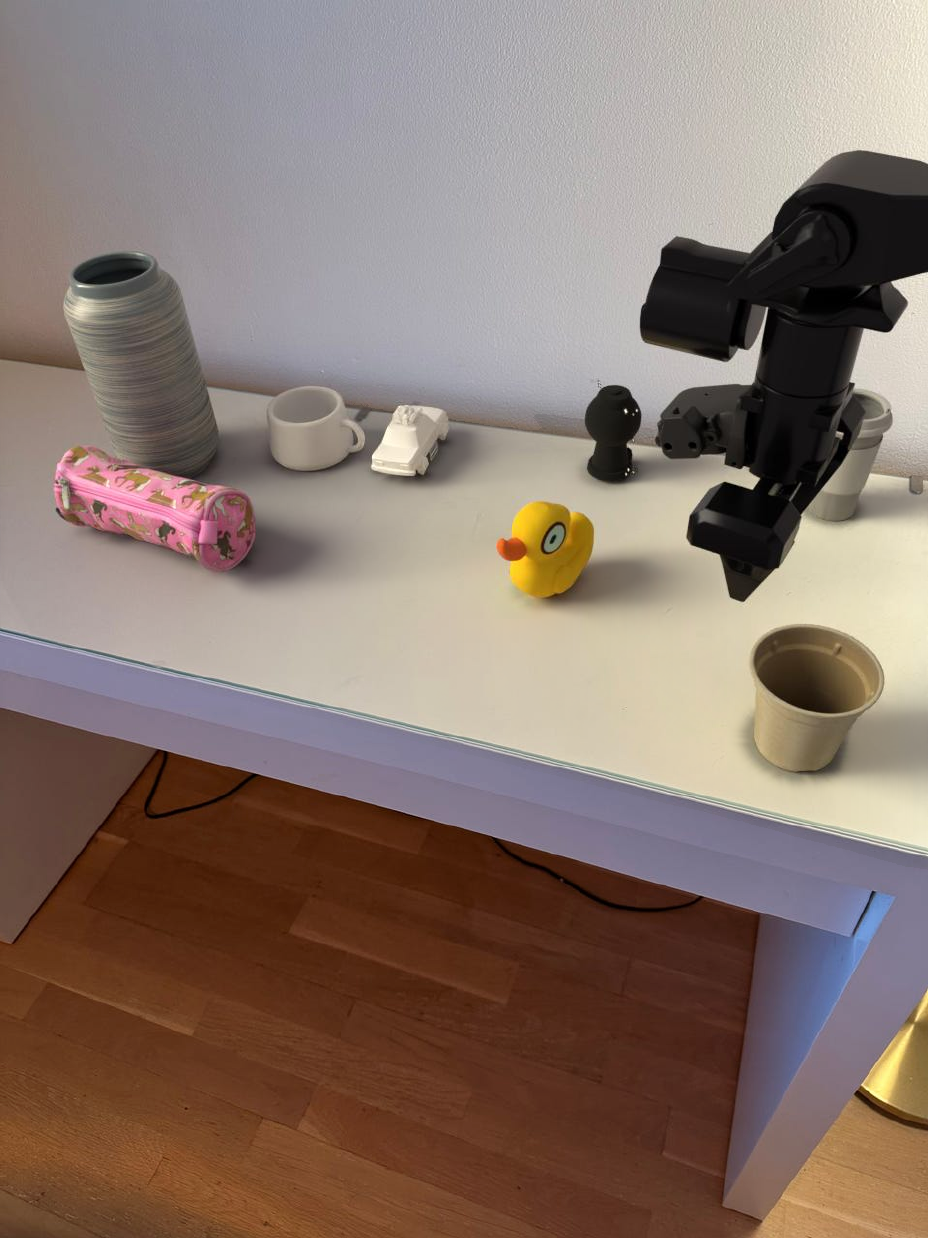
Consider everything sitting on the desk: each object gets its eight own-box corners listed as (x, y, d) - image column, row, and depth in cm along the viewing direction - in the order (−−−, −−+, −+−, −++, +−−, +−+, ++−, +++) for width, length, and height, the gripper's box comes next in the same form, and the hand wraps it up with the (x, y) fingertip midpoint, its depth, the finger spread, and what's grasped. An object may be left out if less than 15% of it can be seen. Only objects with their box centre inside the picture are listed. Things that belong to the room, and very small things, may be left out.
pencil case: (59, 541, 98) (27, 471, 92) (119, 493, 104) (93, 424, 98) (220, 596, 90) (197, 524, 84) (275, 541, 96) (258, 470, 90)
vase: (102, 481, 106) (26, 284, 90) (163, 428, 113) (103, 239, 97) (186, 500, 102) (123, 299, 86) (243, 445, 110) (195, 251, 94)
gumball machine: (651, 476, 101) (660, 394, 94) (609, 496, 99) (615, 414, 92) (611, 449, 105) (616, 369, 98) (570, 468, 103) (572, 387, 96)
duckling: (521, 631, 84) (520, 546, 78) (482, 603, 88) (477, 518, 81) (606, 574, 90) (612, 489, 83) (566, 549, 93) (569, 465, 86)
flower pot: (740, 687, 78) (758, 612, 72) (859, 711, 76) (886, 636, 70) (724, 773, 72) (741, 699, 66) (852, 803, 69) (882, 729, 63)
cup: (854, 535, 92) (886, 431, 84) (787, 517, 94) (811, 414, 86) (872, 497, 96) (904, 394, 88) (807, 480, 99) (832, 379, 90)
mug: (256, 464, 106) (244, 419, 102) (298, 421, 113) (289, 377, 108) (347, 485, 103) (340, 438, 98) (386, 439, 109) (381, 393, 105)
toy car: (454, 433, 109) (450, 381, 104) (418, 491, 101) (412, 438, 96) (406, 426, 111) (401, 375, 106) (368, 483, 103) (360, 430, 98)
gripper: (734, 292, 68) (706, 470, 78) (622, 412, 57) (606, 599, 67) (892, 324, 63) (838, 509, 74) (802, 462, 52) (755, 655, 63)
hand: (759, 562), depth 70 cm, fingers open, 9 cm apart
